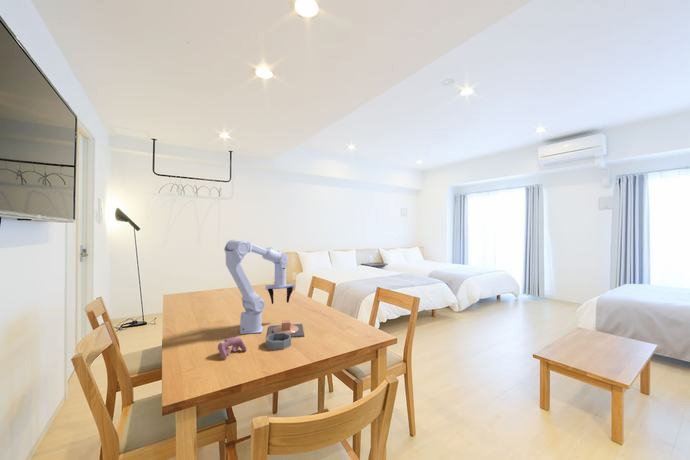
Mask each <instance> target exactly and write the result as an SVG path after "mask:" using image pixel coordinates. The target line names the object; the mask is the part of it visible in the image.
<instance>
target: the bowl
mask: <svg viewBox="0 0 690 460" xmlns="http://www.w3.org/2000/svg"><path fill="white" fill-rule="evenodd" d="M291 346H292V337H291V335H290V334H287V333H273V334H271V335H268V334H267V335H266V338H265V348H267V349H269V350H273V351H276V350H285V349H287V348H289V347H291Z"/></svg>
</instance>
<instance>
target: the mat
mask: <svg viewBox="0 0 690 460" xmlns="http://www.w3.org/2000/svg"><path fill="white" fill-rule="evenodd" d="M280 325H281V324H276V325H274V324H273V325H268V332H267V336H268V335H271V334H273V329H274V328H275V327H277V326H280ZM291 325H295V326H297V327H298V328H299V330H298V332H297V333H295V334H292V335H291V338H302V337H303V338H304V337H305V333H304V327H303V326H304V325H303V323H294V324H292V323H291Z"/></svg>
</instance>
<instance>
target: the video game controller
mask: <svg viewBox="0 0 690 460" xmlns="http://www.w3.org/2000/svg"><path fill="white" fill-rule="evenodd" d="M230 346H231V348H230ZM239 349H241V351H243V352H245V353H246V352H247V346H246V343H245V342H244V341H243V339H242V338H241V337H239V336H232V337H231V336H230V337H228V338H226V339H224V340H223V341H221V342H220V343H218V346H217V350H218V352H219V354H220V357H221V358H222V360H227V357H228V356H229V355H230V354H231V352H233V353H236V352H238V351H239Z"/></svg>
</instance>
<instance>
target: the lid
mask: <svg viewBox="0 0 690 460" xmlns="http://www.w3.org/2000/svg"><path fill="white" fill-rule="evenodd" d="M291 324H292V323H291V319H283V320H281V324H279V325H280V326H277V327H275V328H274V329H273V333H287V334H290V335H292V334H295V333H297V332H298V330H299V328H298V327H297V326H295V325H291Z"/></svg>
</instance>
